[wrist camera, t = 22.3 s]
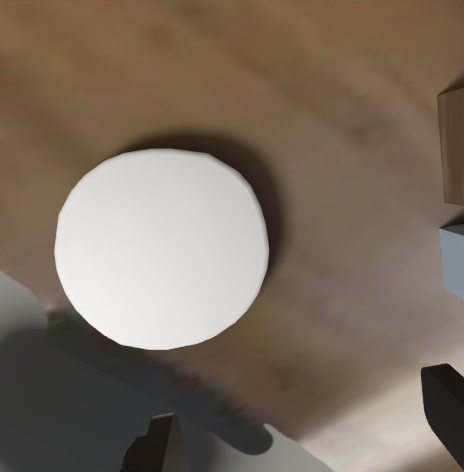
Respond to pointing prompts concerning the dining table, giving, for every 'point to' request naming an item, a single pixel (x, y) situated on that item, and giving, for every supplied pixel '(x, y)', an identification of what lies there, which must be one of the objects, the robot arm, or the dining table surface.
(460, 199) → the walnut box
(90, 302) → the plate
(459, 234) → the gray rectangular box
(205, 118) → the dining table surface
